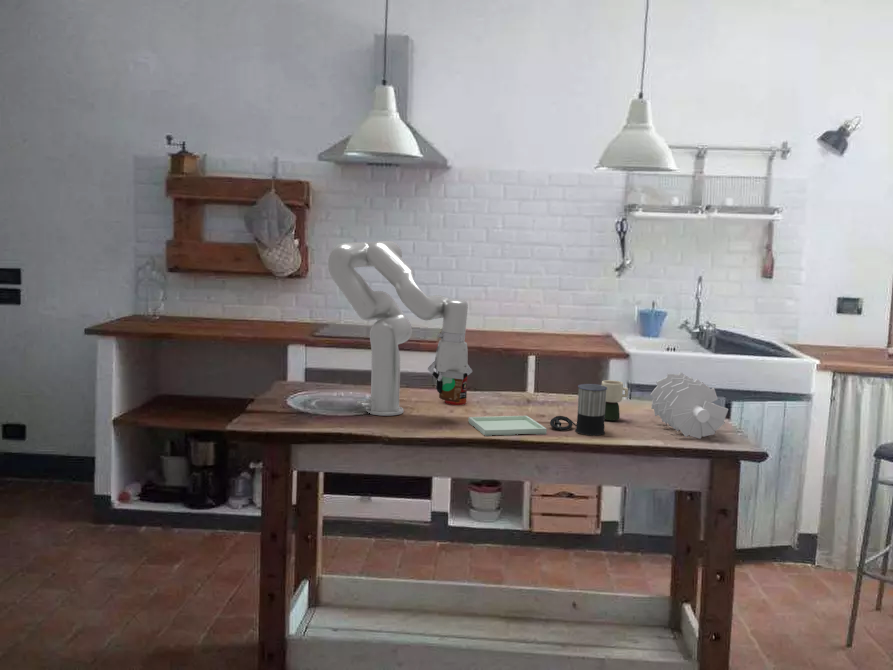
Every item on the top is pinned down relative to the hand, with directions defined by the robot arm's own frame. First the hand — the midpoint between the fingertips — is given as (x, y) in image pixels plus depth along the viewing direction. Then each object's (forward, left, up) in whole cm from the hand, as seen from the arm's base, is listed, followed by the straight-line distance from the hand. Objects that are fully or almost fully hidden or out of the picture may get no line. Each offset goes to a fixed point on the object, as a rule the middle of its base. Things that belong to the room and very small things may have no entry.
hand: (448, 391), depth 306 cm
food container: (-1, 0, -2) cm, 3 cm away
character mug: (+55, -6, -10) cm, 56 cm away
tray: (+16, -13, -9) cm, 23 cm away
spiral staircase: (+73, -24, -10) cm, 78 cm away
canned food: (+10, +26, -10) cm, 30 cm away
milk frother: (+38, -19, -10) cm, 43 cm away
